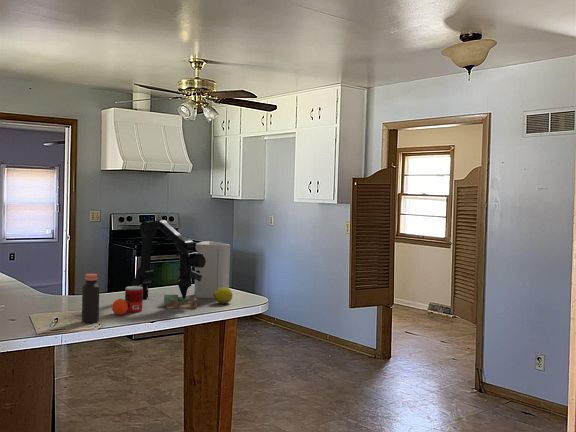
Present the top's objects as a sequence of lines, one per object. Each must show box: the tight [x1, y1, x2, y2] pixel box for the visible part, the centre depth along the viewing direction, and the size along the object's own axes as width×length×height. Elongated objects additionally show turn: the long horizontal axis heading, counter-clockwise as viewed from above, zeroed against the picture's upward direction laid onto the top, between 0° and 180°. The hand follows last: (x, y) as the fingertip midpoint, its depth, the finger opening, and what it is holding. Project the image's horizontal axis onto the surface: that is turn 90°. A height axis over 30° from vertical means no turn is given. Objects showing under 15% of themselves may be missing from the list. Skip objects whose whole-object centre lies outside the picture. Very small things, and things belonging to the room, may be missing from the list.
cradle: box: [165, 295, 198, 310], centre depth 290 cm, size 14×13×4 cm
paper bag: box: [193, 240, 231, 299], centre depth 317 cm, size 19×15×28 cm
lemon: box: [213, 288, 233, 305], centre depth 299 cm, size 11×8×8 cm
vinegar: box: [81, 273, 100, 324], centre depth 250 cm, size 7×7×20 cm
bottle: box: [163, 294, 189, 305], centre depth 289 cm, size 4×4×12 cm
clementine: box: [111, 298, 129, 316], centre depth 266 cm, size 8×7×7 cm
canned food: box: [124, 285, 144, 314], centre depth 274 cm, size 8×8×11 cm
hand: (184, 297), depth 290 cm, fingers open, 4 cm apart
